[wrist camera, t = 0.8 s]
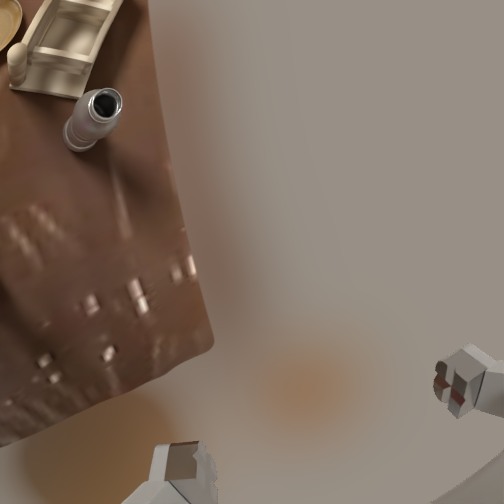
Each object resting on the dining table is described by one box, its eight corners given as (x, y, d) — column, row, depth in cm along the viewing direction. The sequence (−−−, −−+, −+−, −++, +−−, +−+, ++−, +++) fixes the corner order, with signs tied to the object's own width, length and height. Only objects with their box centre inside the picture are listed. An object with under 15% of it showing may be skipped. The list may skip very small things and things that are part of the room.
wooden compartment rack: (7, 88, 27) (3, 60, 19) (76, -36, 24) (95, -72, 16) (80, 100, 37) (95, 76, 29) (134, -20, 34) (162, -52, 26)
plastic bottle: (65, 159, 39) (85, 140, 24) (57, 121, 36) (75, 82, 22) (99, 147, 42) (139, 125, 28) (92, 111, 40) (129, 71, 25)
